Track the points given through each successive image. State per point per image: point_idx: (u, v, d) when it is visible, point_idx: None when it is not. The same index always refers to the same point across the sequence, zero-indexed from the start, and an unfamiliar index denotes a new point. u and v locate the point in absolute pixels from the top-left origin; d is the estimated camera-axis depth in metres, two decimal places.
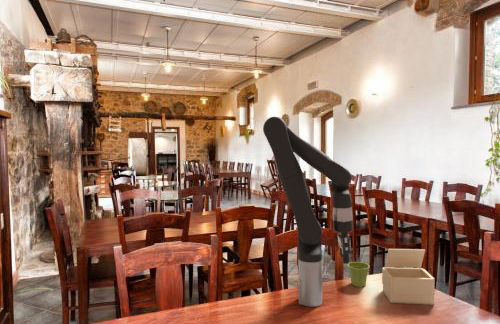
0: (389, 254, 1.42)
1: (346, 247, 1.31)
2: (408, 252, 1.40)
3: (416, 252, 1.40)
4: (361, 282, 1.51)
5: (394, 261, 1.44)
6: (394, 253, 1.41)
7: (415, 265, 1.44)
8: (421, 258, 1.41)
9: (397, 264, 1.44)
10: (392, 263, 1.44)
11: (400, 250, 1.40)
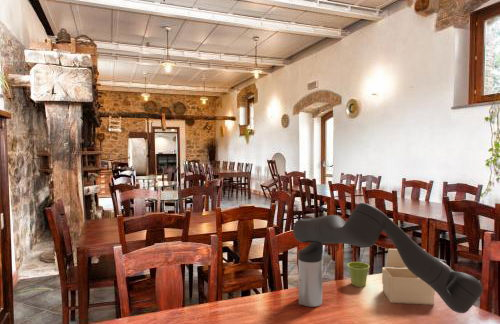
0: (389, 254, 1.42)
1: None
2: None
3: None
4: (361, 282, 1.51)
5: (394, 261, 1.44)
6: (394, 253, 1.41)
7: None
8: None
9: (397, 264, 1.44)
10: (392, 263, 1.44)
11: None
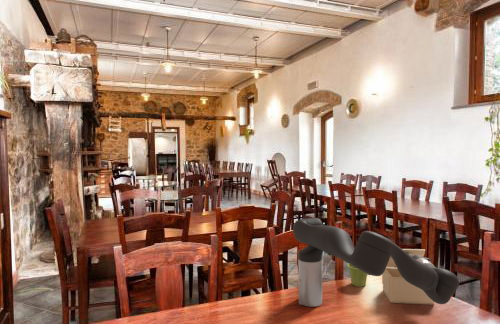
0: None
1: None
2: (408, 252, 1.40)
3: (416, 252, 1.40)
4: (361, 282, 1.51)
5: None
6: None
7: None
8: None
9: None
10: (392, 263, 1.44)
11: None
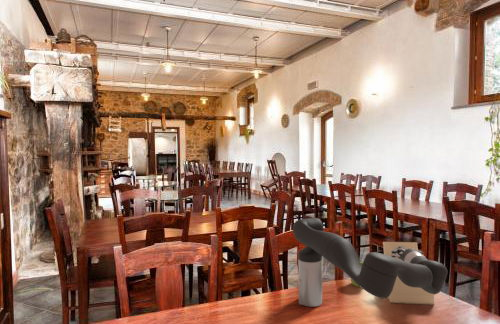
0: (385, 248, 1.49)
1: None
2: (402, 245, 1.48)
3: (409, 245, 1.48)
4: None
5: None
6: (389, 247, 1.49)
7: None
8: None
9: None
10: None
11: (394, 243, 1.49)
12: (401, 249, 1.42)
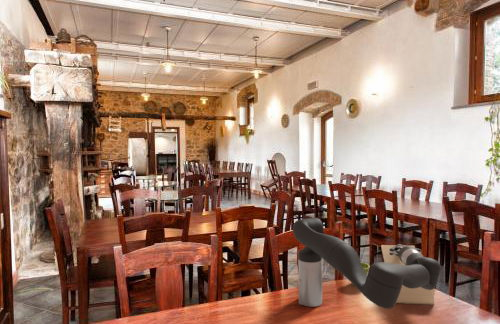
0: (383, 250, 1.51)
1: None
2: None
3: None
4: None
5: (391, 258, 1.48)
6: (387, 249, 1.51)
7: None
8: None
9: (395, 262, 1.47)
10: (390, 261, 1.47)
11: (392, 246, 1.52)
12: (399, 247, 1.45)
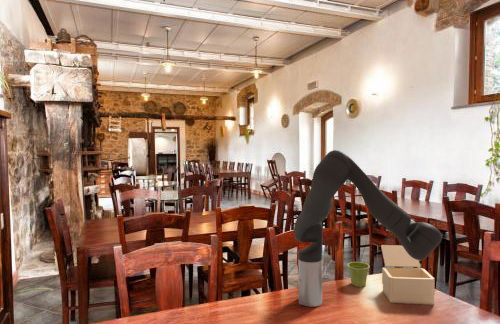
0: (383, 250, 1.51)
1: None
2: (400, 248, 1.51)
3: None
4: (361, 282, 1.51)
5: (391, 258, 1.48)
6: (387, 249, 1.51)
7: (414, 264, 1.45)
8: None
9: (395, 262, 1.47)
10: (390, 261, 1.47)
11: (392, 246, 1.52)
12: None
